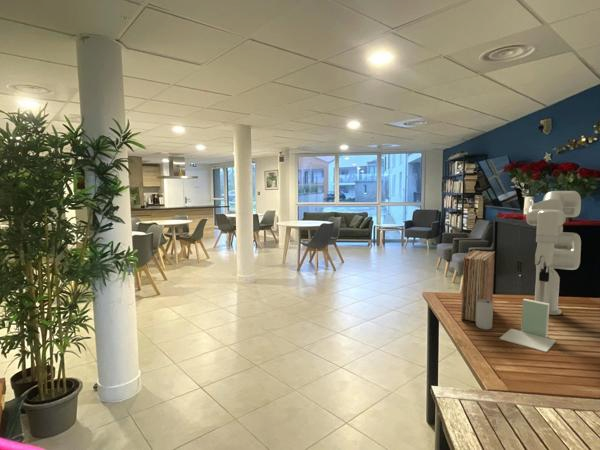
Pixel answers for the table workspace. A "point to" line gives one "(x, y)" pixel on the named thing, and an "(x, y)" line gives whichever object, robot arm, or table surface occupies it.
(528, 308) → the glazed tile
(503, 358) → the table surface
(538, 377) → the table surface
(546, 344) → the mat
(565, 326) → the table surface
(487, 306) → the beverage can
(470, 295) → the book
